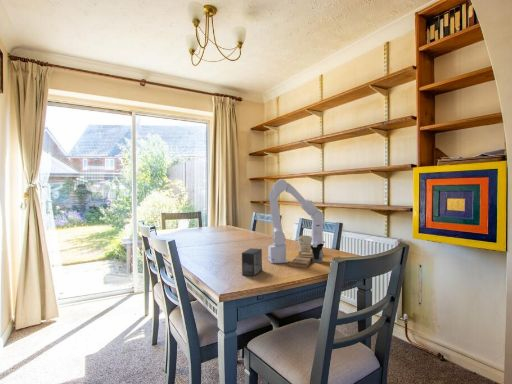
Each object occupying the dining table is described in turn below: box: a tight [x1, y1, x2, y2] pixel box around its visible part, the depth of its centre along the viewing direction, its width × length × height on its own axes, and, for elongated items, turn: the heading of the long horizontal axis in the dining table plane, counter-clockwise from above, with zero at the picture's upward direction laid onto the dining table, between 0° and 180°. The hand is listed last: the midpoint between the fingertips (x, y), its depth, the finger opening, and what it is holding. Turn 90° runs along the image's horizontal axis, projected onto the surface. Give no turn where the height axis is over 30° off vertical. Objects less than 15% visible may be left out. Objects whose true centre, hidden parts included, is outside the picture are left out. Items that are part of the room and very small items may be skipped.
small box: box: [241, 247, 263, 277], centre depth 135 cm, size 11×6×10 cm, turn 159°
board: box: [290, 252, 313, 269], centre depth 154 cm, size 24×8×2 cm, turn 158°
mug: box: [297, 235, 312, 253], centre depth 175 cm, size 8×13×10 cm, turn 127°
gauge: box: [298, 249, 324, 264], centre depth 155 cm, size 4×12×6 cm, turn 70°
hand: (317, 258), depth 154 cm, fingers closed on gauge, 4 cm apart
